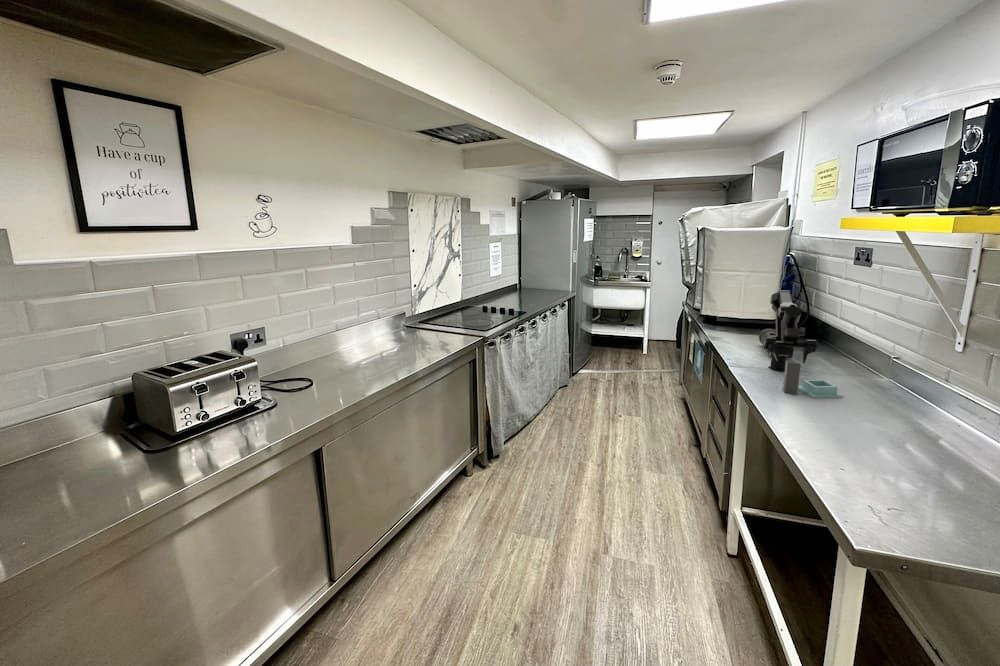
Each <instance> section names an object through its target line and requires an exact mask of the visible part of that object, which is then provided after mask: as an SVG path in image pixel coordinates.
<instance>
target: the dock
mask: <svg viewBox="0 0 1000 666" xmlns="http://www.w3.org/2000/svg"><path fill="white" fill-rule="evenodd" d="M838 389H839V387H838V386H837V385H835V384H833V383H831V382H830V381H827V380H825V379H803V380H802V385H798V391H801V392H802V393H804V394H805V395H807V396H808V397H810V398H812V399H825V398H826V399H831V398H832V399H833V398H834V399H835V398H836V399H840V398H843V395H842V394H841V393H839V392H838Z"/></svg>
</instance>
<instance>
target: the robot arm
mask: <svg viewBox="0 0 1000 666" xmlns="http://www.w3.org/2000/svg"><path fill="white" fill-rule="evenodd" d="M769 303H770V305H771V309H772V310H773V312H775V331H776V337H775V338H765V341H764V346H763V349H764V350H766V349H767V350H766V352H767V351H770V353H768V355H769V357H771V359H770V365H769V366H768V367H767V368H768V369H771V370H774V371H777V372H785V365H786V360H789V359H792V358H793V355H794V351H795V348H801V349H802V348H803V352H802V364H805V363H806V360H807V358H808V356H809V354H810V355H811V354H812V353H815V352H816V351H817V348H818V347H819V342H818V341H817V340H816V339H805V342H799V341H800V336H801V337H804V336H805V335H806V327H799V328H798V324H799V321H800V318H801V316H802V315H803V312H802V309H800V307H798V305H797V304H795V303H793V294H791V290H784V289H783V290H778V291H777V292H775V293H772V295H771V296H770V300H769Z"/></svg>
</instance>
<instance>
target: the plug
mask: <svg viewBox="0 0 1000 666" xmlns="http://www.w3.org/2000/svg"><path fill="white" fill-rule="evenodd" d="M801 365H802V363H801V362H800V360H795V359H788V360H786V365H785V371H784V374H783V375H784V377H783V383H782V384H783V385H782V392H783V394H787V393H788V394H789V395H798V391H799V389H798V386H799V381H800V374H801V373H800V371H801Z"/></svg>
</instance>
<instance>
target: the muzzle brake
mask: <svg viewBox="0 0 1000 666" xmlns="http://www.w3.org/2000/svg"><path fill="white" fill-rule="evenodd" d="M775 337H776V329H773V328H764V329H763V330H761V331H760V333H759V334H758V340H759V342H760V343H761V345H762V346H763V347H764V341H765V338H775ZM765 351H766V352H767V353H768V354H769V353H770V351H767V349H765Z"/></svg>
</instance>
